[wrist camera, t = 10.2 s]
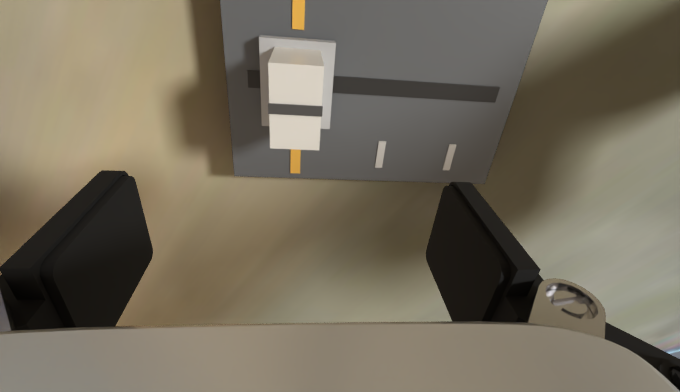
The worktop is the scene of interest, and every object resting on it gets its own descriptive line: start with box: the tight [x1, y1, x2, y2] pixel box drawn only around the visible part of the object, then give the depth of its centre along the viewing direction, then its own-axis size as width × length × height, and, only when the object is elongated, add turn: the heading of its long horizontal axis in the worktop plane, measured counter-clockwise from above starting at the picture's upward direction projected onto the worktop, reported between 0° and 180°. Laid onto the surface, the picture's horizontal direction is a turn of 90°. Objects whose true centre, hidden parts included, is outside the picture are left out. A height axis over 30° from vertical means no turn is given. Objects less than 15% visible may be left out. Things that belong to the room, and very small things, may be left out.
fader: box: [259, 35, 336, 150], centre depth 23 cm, size 5×6×6 cm
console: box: [220, 0, 548, 184], centre depth 28 cm, size 22×16×3 cm
